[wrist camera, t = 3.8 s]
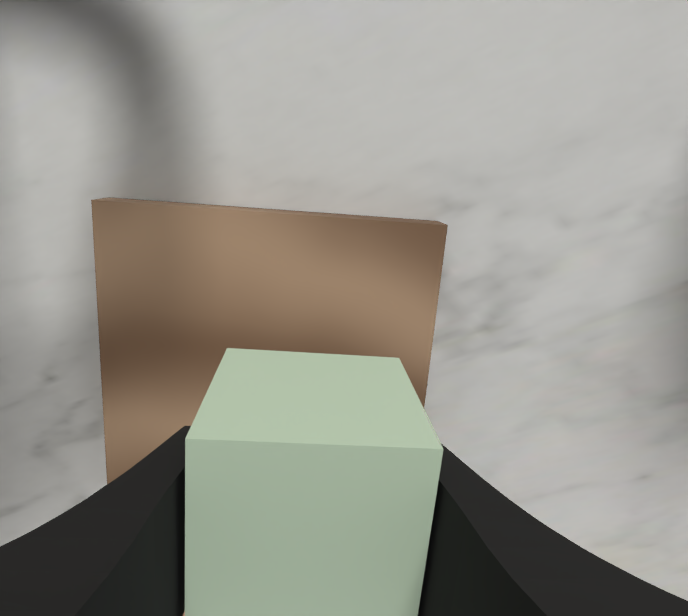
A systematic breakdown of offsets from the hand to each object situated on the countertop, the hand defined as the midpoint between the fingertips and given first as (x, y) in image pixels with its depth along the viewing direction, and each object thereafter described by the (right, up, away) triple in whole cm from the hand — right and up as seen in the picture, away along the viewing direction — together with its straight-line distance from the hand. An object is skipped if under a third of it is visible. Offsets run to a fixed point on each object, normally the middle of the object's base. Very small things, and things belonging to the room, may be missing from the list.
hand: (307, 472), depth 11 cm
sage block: (0, +1, +1) cm, 2 cm away
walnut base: (-2, +1, +9) cm, 10 cm away
